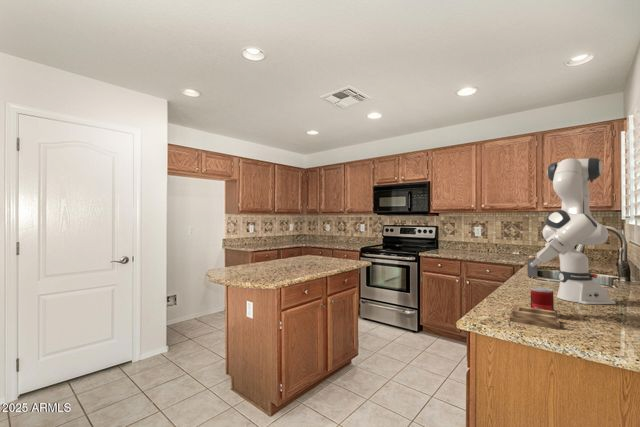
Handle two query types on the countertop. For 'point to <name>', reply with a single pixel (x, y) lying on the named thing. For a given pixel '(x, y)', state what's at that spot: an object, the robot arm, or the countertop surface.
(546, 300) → the canned food
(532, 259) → the block with orange ball
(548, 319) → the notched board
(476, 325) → the countertop surface
